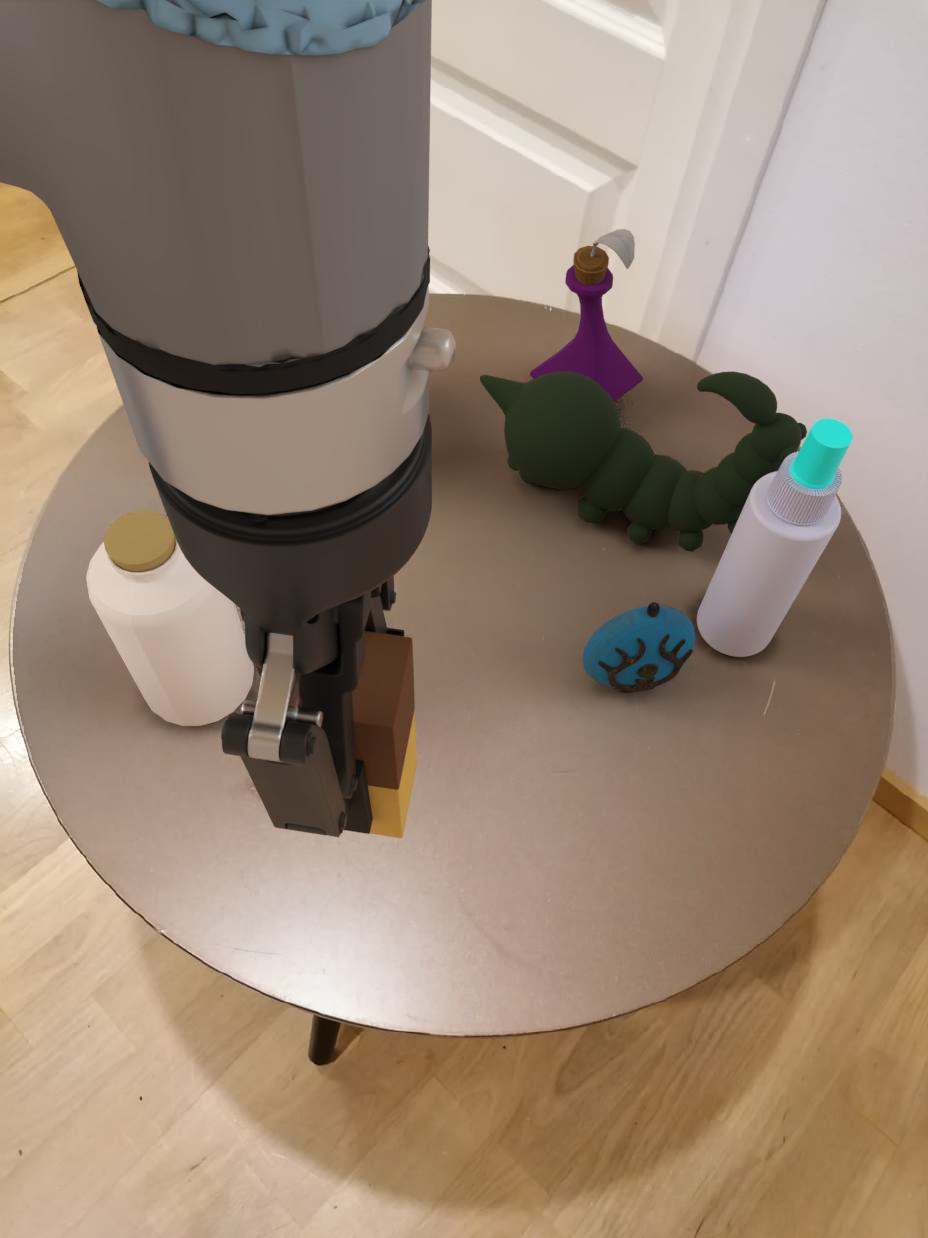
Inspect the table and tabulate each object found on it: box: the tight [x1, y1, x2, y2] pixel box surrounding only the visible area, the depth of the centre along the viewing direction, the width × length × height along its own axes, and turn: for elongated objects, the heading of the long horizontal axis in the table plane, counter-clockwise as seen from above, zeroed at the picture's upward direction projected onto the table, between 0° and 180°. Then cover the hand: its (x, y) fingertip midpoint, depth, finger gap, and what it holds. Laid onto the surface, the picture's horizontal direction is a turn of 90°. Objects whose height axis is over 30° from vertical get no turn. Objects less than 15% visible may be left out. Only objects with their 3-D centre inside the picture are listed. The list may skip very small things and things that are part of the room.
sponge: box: [352, 631, 418, 839], centre depth 41 cm, size 4×5×12 cm
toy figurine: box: [479, 371, 808, 553], centre depth 74 cm, size 9×19×25 cm
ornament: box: [582, 601, 696, 694], centre depth 68 cm, size 8×5×10 cm, turn 100°
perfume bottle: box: [529, 228, 644, 403], centre depth 80 cm, size 8×8×18 cm
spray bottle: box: [696, 418, 853, 658], centre depth 66 cm, size 6×6×22 cm
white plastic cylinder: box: [85, 510, 255, 727], centre depth 63 cm, size 8×8×18 cm
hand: (353, 774), depth 44 cm, fingers closed on sponge, 4 cm apart
